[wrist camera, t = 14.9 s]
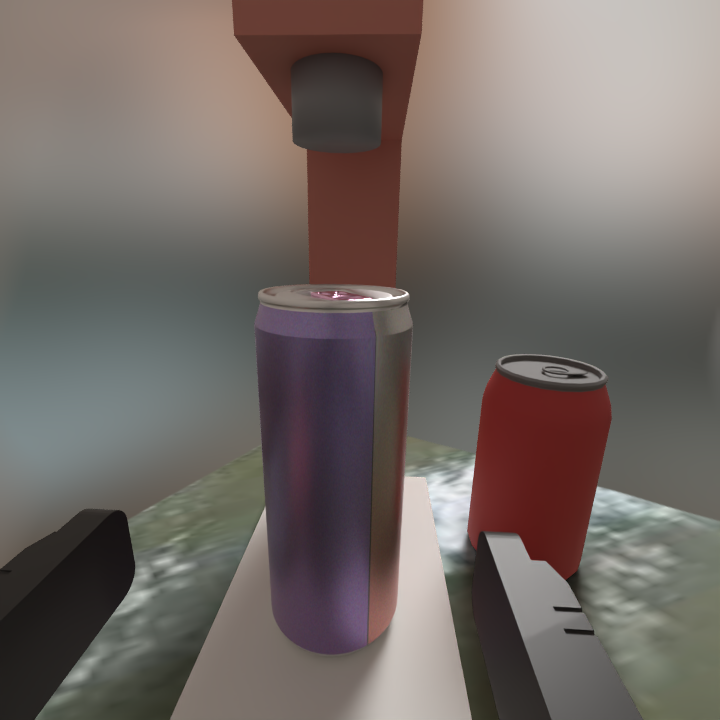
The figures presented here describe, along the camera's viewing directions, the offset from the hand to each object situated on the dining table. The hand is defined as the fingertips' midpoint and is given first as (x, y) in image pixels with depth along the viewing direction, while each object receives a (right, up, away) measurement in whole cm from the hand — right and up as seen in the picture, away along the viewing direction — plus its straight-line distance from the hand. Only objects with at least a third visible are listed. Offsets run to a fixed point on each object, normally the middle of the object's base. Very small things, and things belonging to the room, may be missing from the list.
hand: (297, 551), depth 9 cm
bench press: (0, -8, +12) cm, 15 cm away
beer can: (+12, -8, +16) cm, 21 cm away
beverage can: (0, -8, +10) cm, 13 cm away
